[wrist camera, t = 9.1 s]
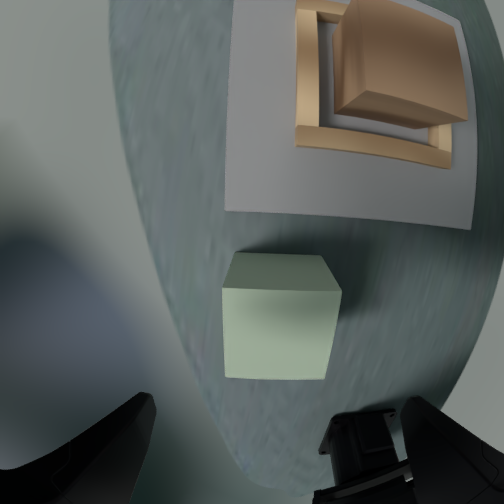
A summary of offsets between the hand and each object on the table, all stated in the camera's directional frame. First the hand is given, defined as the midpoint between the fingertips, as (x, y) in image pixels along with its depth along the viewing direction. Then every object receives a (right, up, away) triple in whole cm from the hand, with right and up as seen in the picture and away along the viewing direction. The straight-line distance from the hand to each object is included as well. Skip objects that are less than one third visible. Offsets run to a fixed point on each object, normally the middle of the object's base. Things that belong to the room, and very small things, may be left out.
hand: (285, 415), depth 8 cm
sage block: (0, +3, +9) cm, 9 cm away
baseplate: (+6, +15, +5) cm, 17 cm away
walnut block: (+6, +15, +4) cm, 16 cm away
